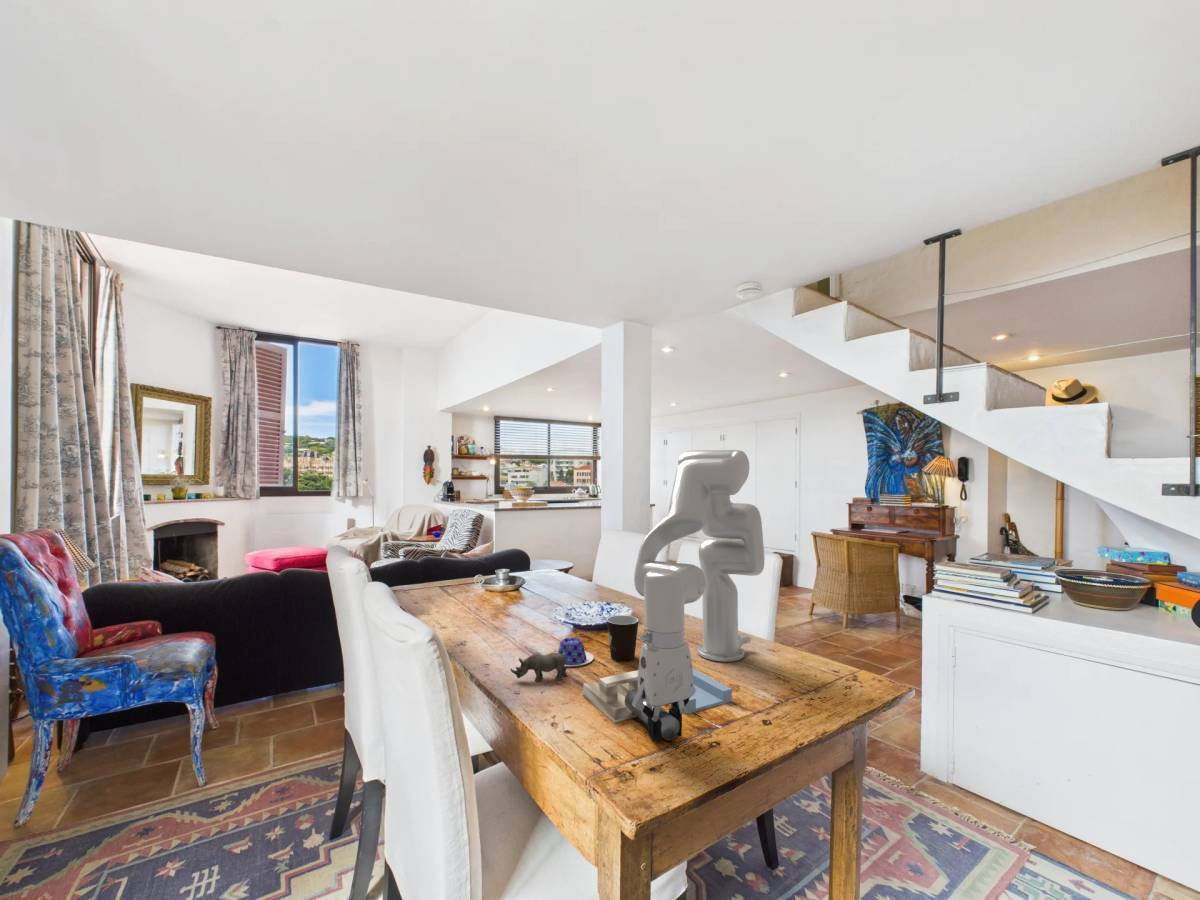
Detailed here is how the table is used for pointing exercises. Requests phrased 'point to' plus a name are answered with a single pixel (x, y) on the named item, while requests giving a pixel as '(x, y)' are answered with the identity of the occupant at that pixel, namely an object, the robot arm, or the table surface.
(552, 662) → the rhino figurine
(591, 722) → the table surface
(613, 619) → the coffee mug
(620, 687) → the bracket
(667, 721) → the axle
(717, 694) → the cradle
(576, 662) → the pudding
